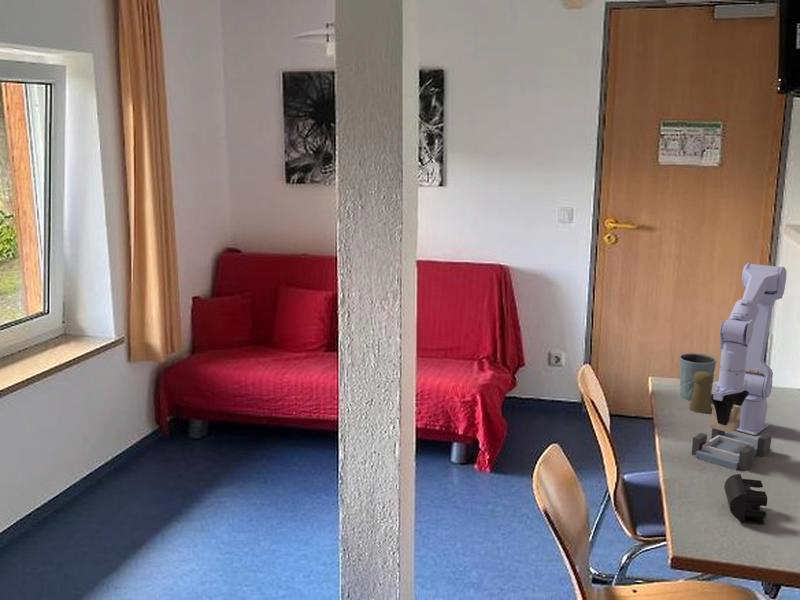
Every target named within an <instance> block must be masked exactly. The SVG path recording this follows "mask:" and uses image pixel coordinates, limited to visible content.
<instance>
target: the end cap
mask: <svg viewBox="0 0 800 600" xmlns="http://www.w3.org/2000/svg"><path fill="white" fill-rule="evenodd" d="M752 488H757V489H758V488H759V489H761V488H764V485H763V483H762V480H760V479H750V478H749V479H748V478H743V476H742V475H741V474H740V473H739V474H738V473H737V474H733V475H730V476H729V477H727V479H726V480H725V482H724V492H725V496H726V500H727V504H728V507H729V510H730V513H731V514H732V516H733V517H734V518H735V519H736V520H738V522H740V523H743V524H751V525H759V526H764V525H765V519H766V515H767V511H765V510H761V508H760V507H767V505H768V496H767V493H766V491H761V490H754V489H752Z"/></svg>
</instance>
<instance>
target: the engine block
mask: <svg viewBox="0 0 800 600" xmlns="http://www.w3.org/2000/svg"><path fill="white" fill-rule="evenodd" d="M711 409H712V411H711V421H710V423H711V424H710V429H712V428H714V429H718V430H722V431H725V433H726V432H729V433H733V432H734V431H737V430H736V429H738V428H739V427H740V415H741V406H738V405H733V407H732V410H731V413H730V417H729V421H728V424H727V425H722V424H718V421H717V415H716V410H715V407H714V405H713V406H712V405H711Z"/></svg>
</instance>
